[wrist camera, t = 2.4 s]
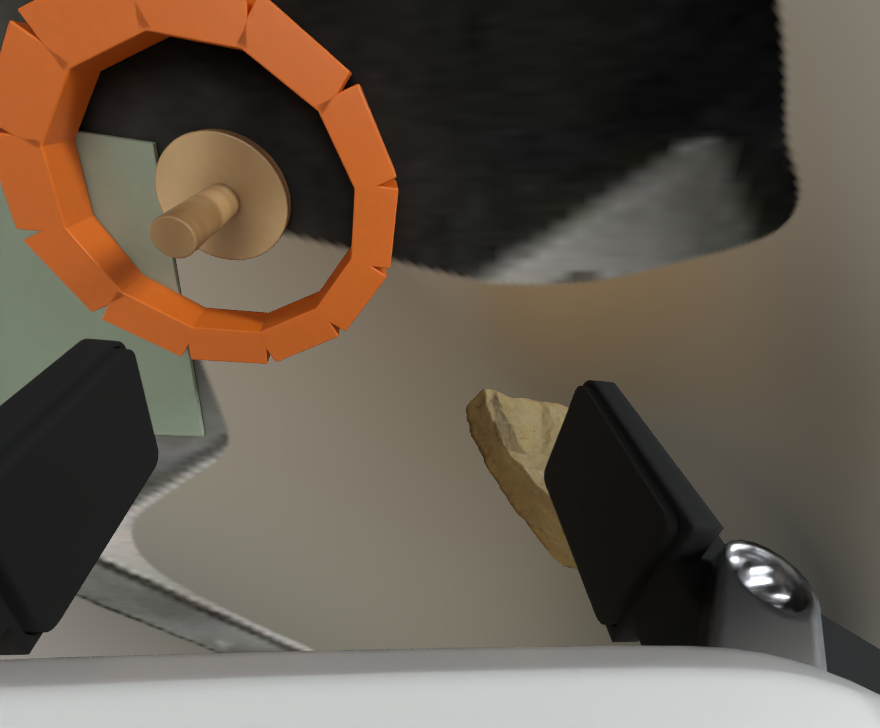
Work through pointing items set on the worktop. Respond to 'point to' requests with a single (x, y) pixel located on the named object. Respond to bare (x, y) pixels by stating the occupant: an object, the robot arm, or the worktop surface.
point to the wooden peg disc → (218, 197)
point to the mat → (65, 316)
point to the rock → (522, 459)
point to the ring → (66, 197)
